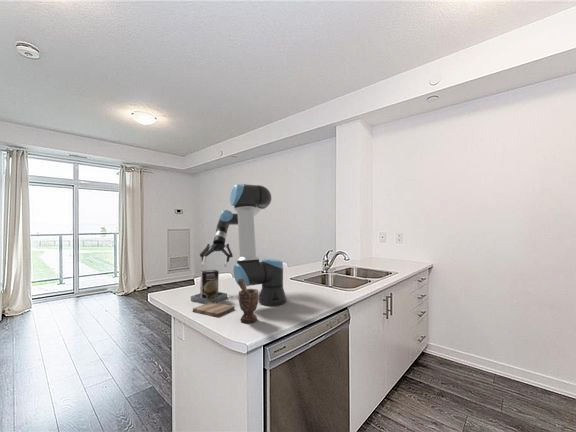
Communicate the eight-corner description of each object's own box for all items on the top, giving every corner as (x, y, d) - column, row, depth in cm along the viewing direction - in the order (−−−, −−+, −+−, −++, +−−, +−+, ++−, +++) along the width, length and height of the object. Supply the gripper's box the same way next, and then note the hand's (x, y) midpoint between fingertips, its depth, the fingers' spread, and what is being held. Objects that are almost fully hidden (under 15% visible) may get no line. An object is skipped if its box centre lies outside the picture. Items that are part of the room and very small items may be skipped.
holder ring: (227, 297, 155) (227, 293, 155) (209, 304, 143) (209, 299, 143) (209, 294, 162) (209, 290, 162) (190, 300, 150) (190, 296, 150)
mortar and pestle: (256, 327, 113) (256, 279, 113) (235, 327, 113) (235, 279, 113) (259, 317, 124) (259, 273, 124) (240, 317, 124) (240, 273, 124)
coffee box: (202, 301, 148) (202, 272, 148) (200, 298, 153) (200, 270, 153) (218, 299, 152) (218, 270, 152) (216, 296, 157) (216, 269, 158)
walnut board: (234, 309, 135) (234, 306, 135) (217, 317, 124) (217, 313, 124) (210, 304, 142) (210, 301, 143) (192, 311, 132) (192, 308, 132)
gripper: (239, 242, 181) (235, 269, 166) (202, 243, 181) (194, 269, 166) (238, 235, 176) (233, 262, 161) (199, 235, 176) (191, 262, 160)
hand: (214, 265), depth 163 cm, fingers open, 13 cm apart
